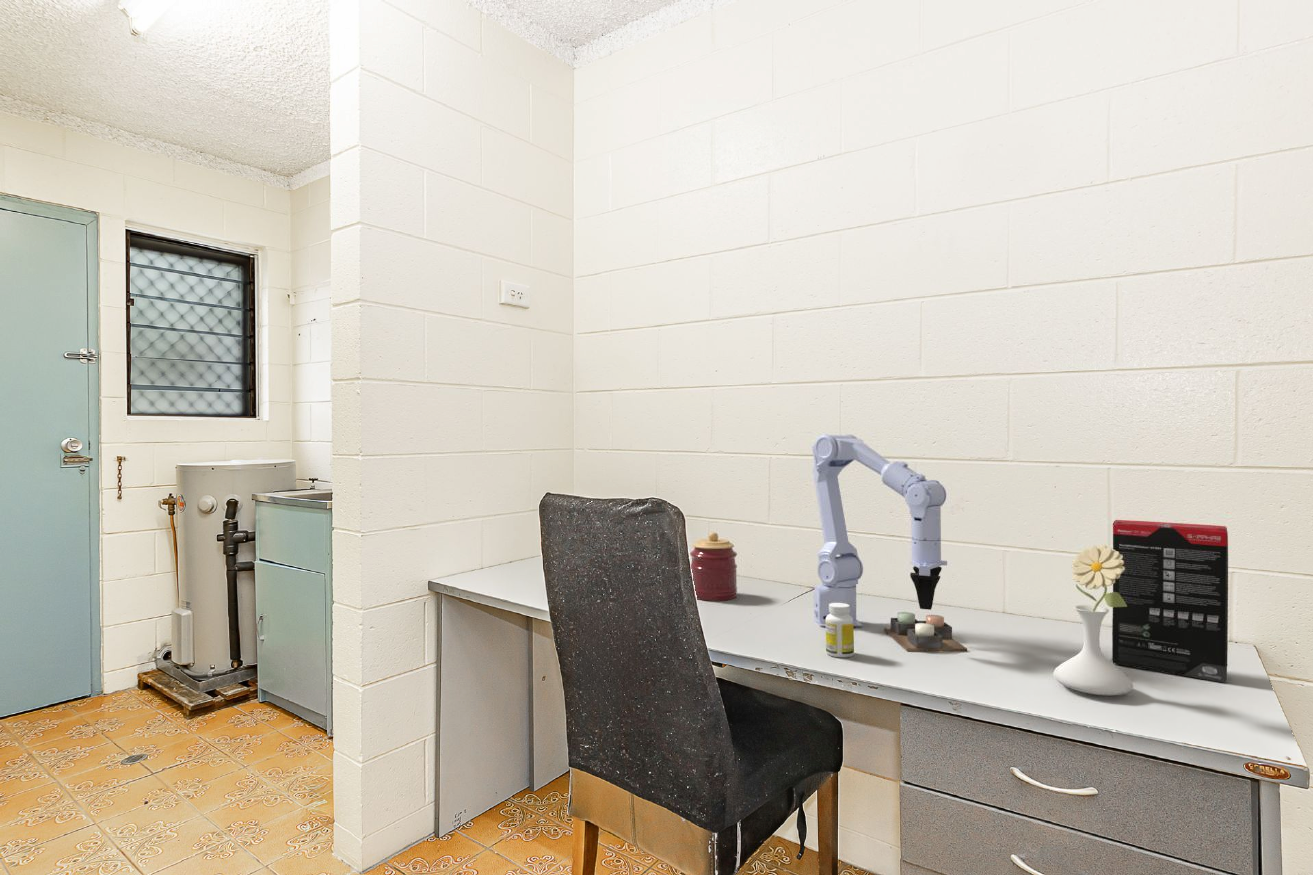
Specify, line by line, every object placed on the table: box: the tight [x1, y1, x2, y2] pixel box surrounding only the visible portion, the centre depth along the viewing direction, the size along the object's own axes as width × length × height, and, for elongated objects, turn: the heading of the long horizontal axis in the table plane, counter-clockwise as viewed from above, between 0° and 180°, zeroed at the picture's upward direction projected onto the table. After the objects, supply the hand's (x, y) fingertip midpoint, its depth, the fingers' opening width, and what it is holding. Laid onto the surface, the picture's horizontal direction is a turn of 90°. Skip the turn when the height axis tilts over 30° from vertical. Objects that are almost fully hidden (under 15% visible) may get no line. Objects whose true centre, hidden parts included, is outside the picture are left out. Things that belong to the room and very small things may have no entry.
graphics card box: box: [1111, 519, 1229, 683], centre depth 125 cm, size 17×7×27 cm, turn 53°
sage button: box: [897, 611, 916, 624], centre depth 149 cm, size 4×4×3 cm
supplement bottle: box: [825, 603, 855, 659], centre depth 136 cm, size 5×5×10 cm
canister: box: [689, 531, 738, 602], centre depth 188 cm, size 13×13×18 cm
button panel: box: [883, 617, 968, 653], centre depth 145 cm, size 12×15×3 cm
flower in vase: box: [1053, 544, 1134, 697], centre depth 115 cm, size 13×11×25 cm
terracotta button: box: [925, 614, 945, 627], centre depth 147 cm, size 4×4×3 cm
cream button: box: [915, 623, 934, 636], centre depth 140 cm, size 4×4×3 cm
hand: (926, 605), depth 141 cm, fingers open, 7 cm apart
